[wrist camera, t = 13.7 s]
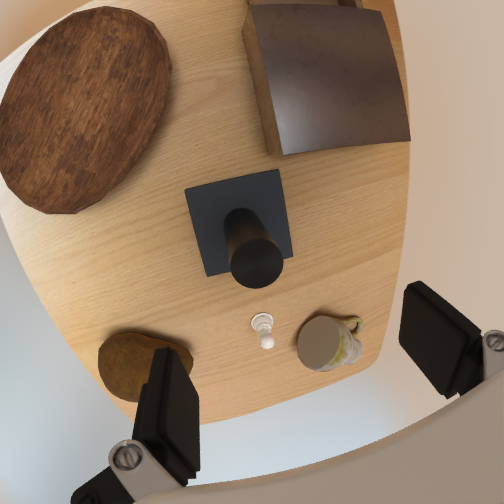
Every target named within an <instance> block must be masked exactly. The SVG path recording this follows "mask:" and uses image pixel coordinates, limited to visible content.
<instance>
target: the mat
mask: <svg viewBox="0 0 504 504" xmlns="http://www.w3.org/2000/svg"><path fill="white" fill-rule="evenodd" d="M185 195H186V199H187V203H188V207H189V211H190V215H191V219H192V223H193V227H194V230H195V234H196V238H197V242H198V246H199V249H200V253H201V257H202V260H203V264H204V267H205V271H206V275H207V277H209V276H213V275H218V274H222V273H226V272H231V269H230V263H229V257H228V251H227V245H226V238H225V232H224V220H225V218H226V216H227V215H228V214H229V213H230V212H231V211H232V210H234V209H237V208H247V209H250V210H252V211H253V212H254V213H255V214H256V215H257V217H258V218H259V220H260V221H261V222H262V224H263V225H264V227H265V228H266V230H267V231H268V233H269V234H270V236H271V237H272V239H273V240H274V242H275V243H276V244H277V246H278V247H279V249H280V251H281V253H282V255H283V259H286V258H290V257H293V252H292V245H291V238H290V232H289V226H288V219H287V213H286V207H285V201H284V195H283V189H282V184H281V178H280V172H279V170H278V169H276V170H271V171H265V172H260V173H255V174H250V175H245V176H241V177H236V178H231V179H227V180H222V181H218V182H213V183H209V184H205V185H201V186H196V187H192V188H188V189H185Z"/></svg>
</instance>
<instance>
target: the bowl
mask: <svg viewBox="0 0 504 504" xmlns="http://www.w3.org/2000/svg"><path fill="white" fill-rule="evenodd" d="M171 70H172V66H171V62H170V57H169V53H168V48H167V44H166V41H165V39H164V38H163V36H162V35H161V33H160V32H159V30H158V29H157V27H156V26H155V24H154V23H153V22H151V21H149V20H148V19H146V18H144V17H142V16H141V15H139V14H137V13H135V12H133V11H132V10H127V9H122V8H115V7H109V6H103V7H98V8H93V9H88V10H84V11H80V12H76V13H73V14H71V15H70V16H68V17H66V18H65V19H63V20H62V21H60V22H58V23H57V24H55V25H54V26H52V27H51V28H49V29H48V30H47V31H46V32H45V33H44V34H43V35H42V36H41V37H40V38H39V39H38V40H37V41H36V43H35V44H34V45H33V46H32V47H31V48H30V49H29V51H28V52H27V54H26V55H25V57H24V58H23V60H22V61H21V63H20V64H19V66H18V67H17V69H16V71H15V72H14V74H13V76H12V78H11V80H10V82H9V84H8V87H7V89H6V92H5V94H4V97H3V99H2V102H1V105H0V172H1V174H2V176H3V178H4V180H5V182H6V184H7V186H8V188H9V189H10V190H11V191H12V192H13V193H14V194H15V195H16V196H17V197H18V198H19V199H20V200H21V201H22V202H24V203H25V204H26V205H28V206H30V207H32V208H34V209H36V210H39V211H41V212H43V213H45V214H76V213H78V212H80V211H82V210H84V209H85V208H87V207H89V206H91V205H93V204H95V203H97V202H98V201H100V200H101V199H102V198H103V197H104V196H105V195H107V194H108V193H109V192H110V191H111V190H112V189H113V188H114V187H115V186H116V185H117V184H119V183H120V182H121V181H122V180H123V179H124V177H125V175H126V174H127V173H128V171H129V170H130V168H131V167H132V165H133V164H134V162H135V161H136V159H137V158H138V157H139V155H140V154H141V152H142V151H143V150H144V148H145V147H146V145H147V143H148V140H149V138H150V136H151V134H152V132H153V130H154V128H155V126H156V123H157V121H158V119H159V117H160V115H161V113H162V111H163V109H164V103H165V98H166V93H167V88H168V84H169V79H170V74H171Z"/></svg>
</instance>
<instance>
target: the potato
mask: <svg viewBox="0 0 504 504" xmlns="http://www.w3.org/2000/svg"><path fill="white" fill-rule="evenodd" d="M167 346H170V347H171V349H176V350H177V352H178V354H179V357H180V359H181V361H182V363H183V365H184V367H185V369H186V371H187V373H188V375H189V374H190V372H191V370H192V367H193V357H192V356H191V354H190V352H189V351H188V350H187V349H186V348H183V347H181V346H179V345H177V344H174V343H170V342H167V341H163V340H159V339H154V338H150V337H147V336H144V335H142V334H138V333H124V334H119V335H116V336H113V337H111V338H109V339H107V340H106V341H105V342H104V343H103V344H102V345H101V347H100V348H99V354H98V369H99V372H100V376H101V378H102V380H103V382H104V384H105V386H106V388H107V389H108V390H109V391H110V392H111V393H112V394H113V395H115V396H117V397H119V398H120V399H123V400H126V401H129V402H137V403H138V402H139V397H140V392H141V388H142V385H143V384H144V383H148V378H149V373H150V368H151V364H152V359H153V355H154V350H155V349H156V348H161V347H167Z"/></svg>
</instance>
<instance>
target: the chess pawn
mask: <svg viewBox="0 0 504 504" xmlns="http://www.w3.org/2000/svg"><path fill="white" fill-rule="evenodd" d="M251 325H252V328H253V329H254V330H256V331H257V332H258V334H260V338H261V339H260V345H261V346H262V348H264V349H271V348H272V347H273V346H274V344H275V340H274V338H273V337H272V336H271V333H270V332H271V328H272V325H273V318H272V316H271V315H269V314H267V313H260V314H257V315H256V316H254V317H253V319H252V321H251Z"/></svg>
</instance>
